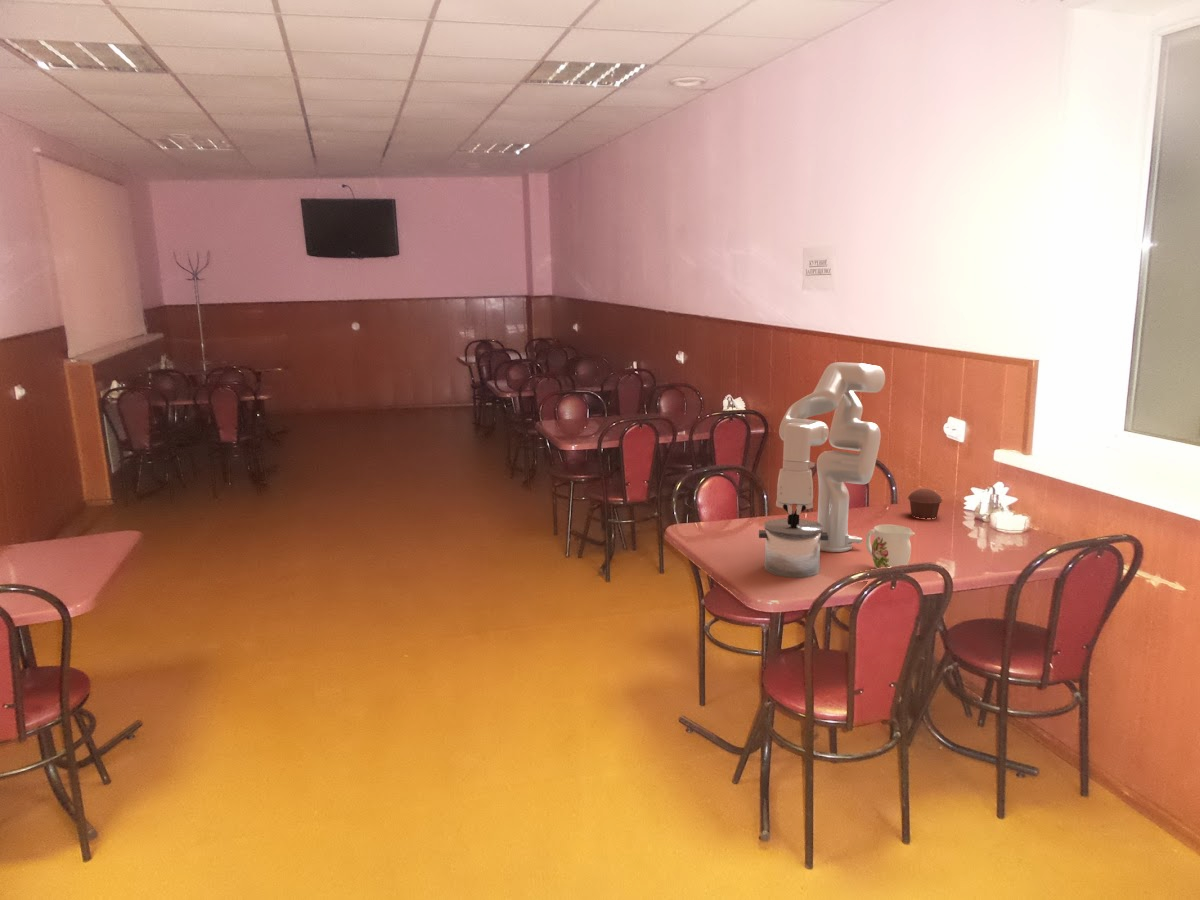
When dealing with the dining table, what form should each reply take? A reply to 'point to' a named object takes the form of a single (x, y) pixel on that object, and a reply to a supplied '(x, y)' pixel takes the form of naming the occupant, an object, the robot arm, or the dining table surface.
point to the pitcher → (889, 545)
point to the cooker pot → (792, 554)
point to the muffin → (924, 503)
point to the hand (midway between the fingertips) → (793, 526)
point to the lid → (784, 528)
